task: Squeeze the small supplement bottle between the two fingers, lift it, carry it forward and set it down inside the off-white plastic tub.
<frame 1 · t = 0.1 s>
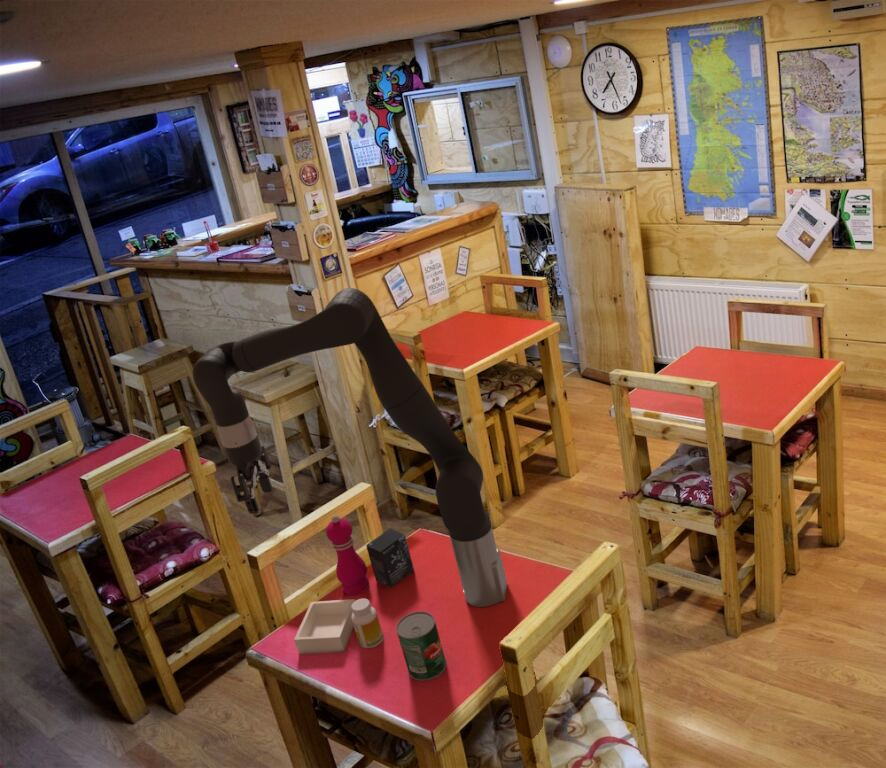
hand: (261, 501, 195), 29 cm above the table, fingers open, 8 cm apart
supplement bottle: (371, 640, 190), on the table
pepper mill: (356, 587, 209), on the table
box: (395, 576, 209), on the table
canned tomato: (427, 667, 178), on the table
tub: (329, 633, 195), on the table
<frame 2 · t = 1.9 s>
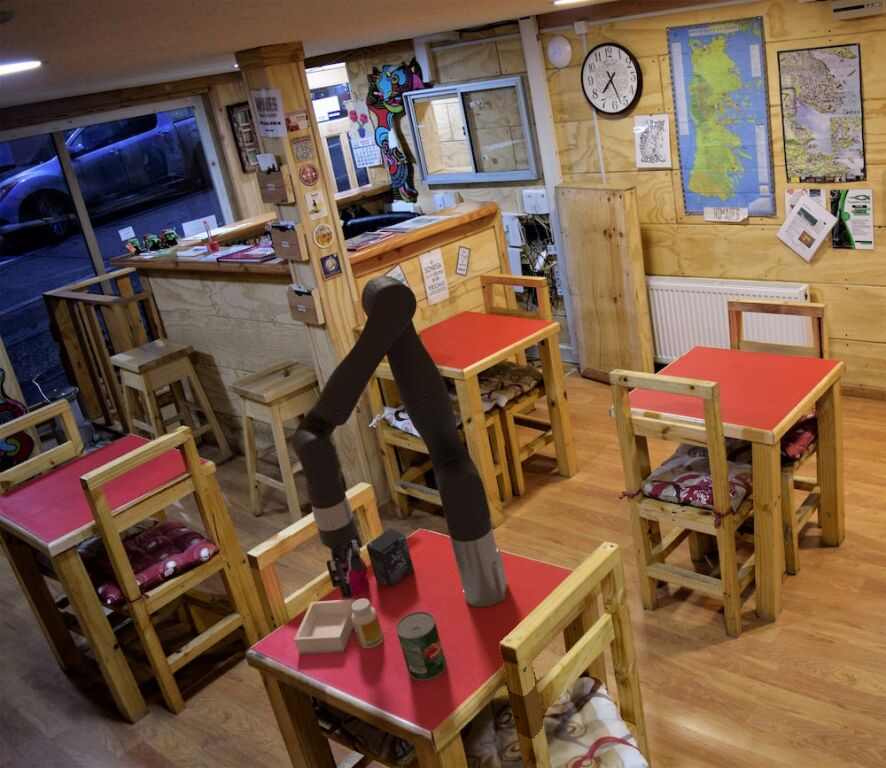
hand: (353, 583, 184), 15 cm above the table, fingers open, 8 cm apart
nothing on the table moved.
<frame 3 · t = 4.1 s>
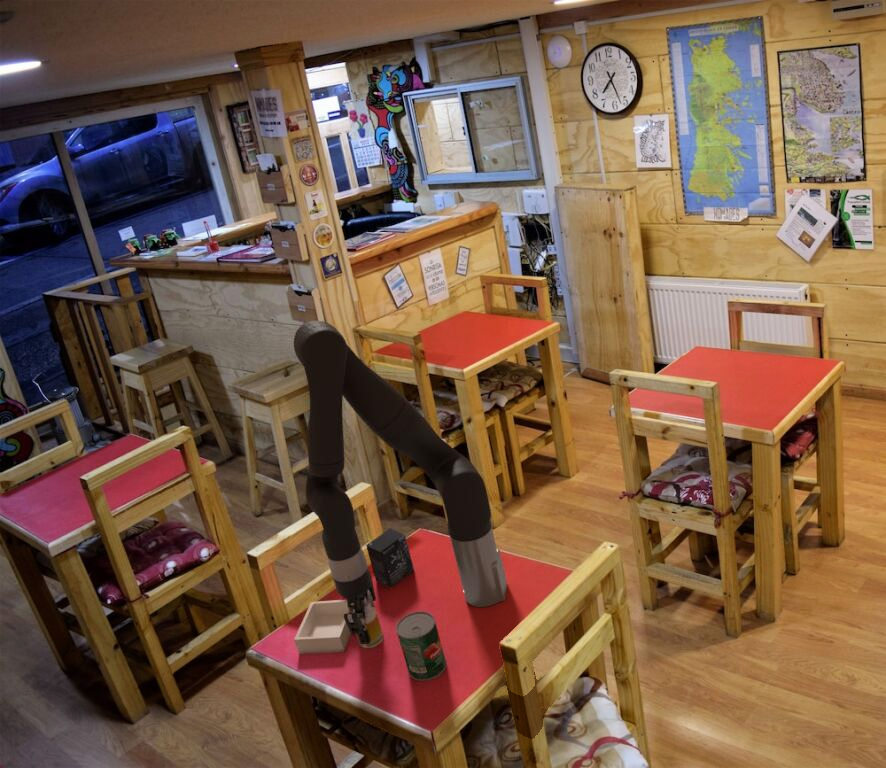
hand: (369, 632, 189), 2 cm above the table, fingers closed on supplement bottle, 5 cm apart
supplement bottle: (371, 640, 190), on the table, touching gripper
everything else where it was.
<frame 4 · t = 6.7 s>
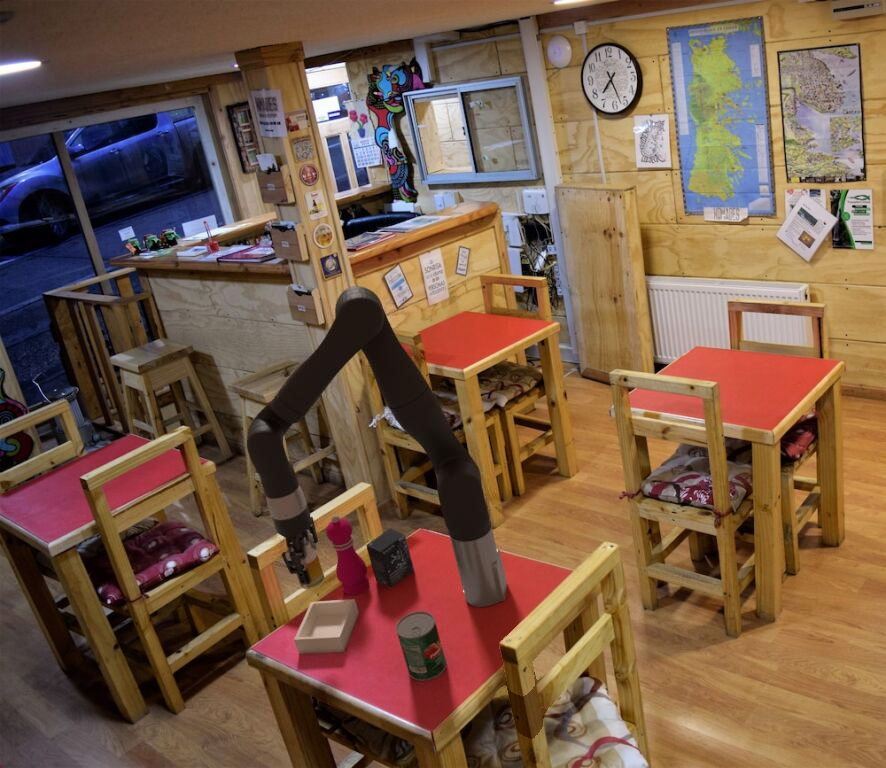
hand: (310, 574, 188), 16 cm above the table, fingers closed on supplement bottle, 5 cm apart
supplement bottle: (313, 582, 189), point 14 cm above the table, touching gripper
everything else where it was.
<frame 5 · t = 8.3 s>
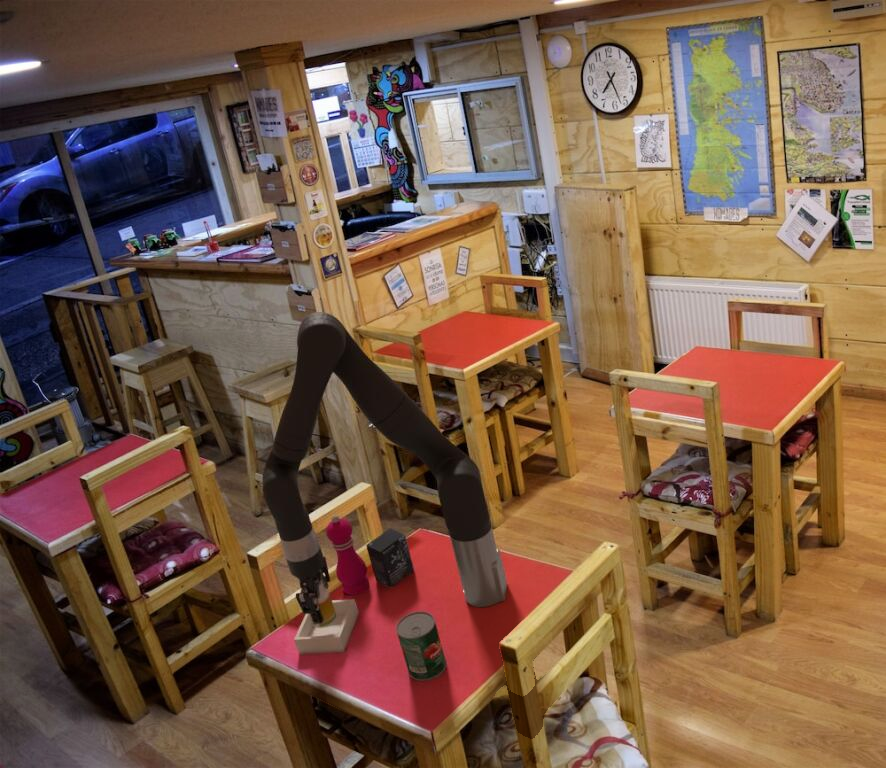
hand: (322, 613, 193), 6 cm above the table, fingers closed on supplement bottle, 5 cm apart
supplement bottle: (325, 621, 193), point 3 cm above the table, touching gripper
everything else where it was.
when the fingers open (4 cm above the table, at t = 9.6 s): supplement bottle drops 1 cm, resting on tub.
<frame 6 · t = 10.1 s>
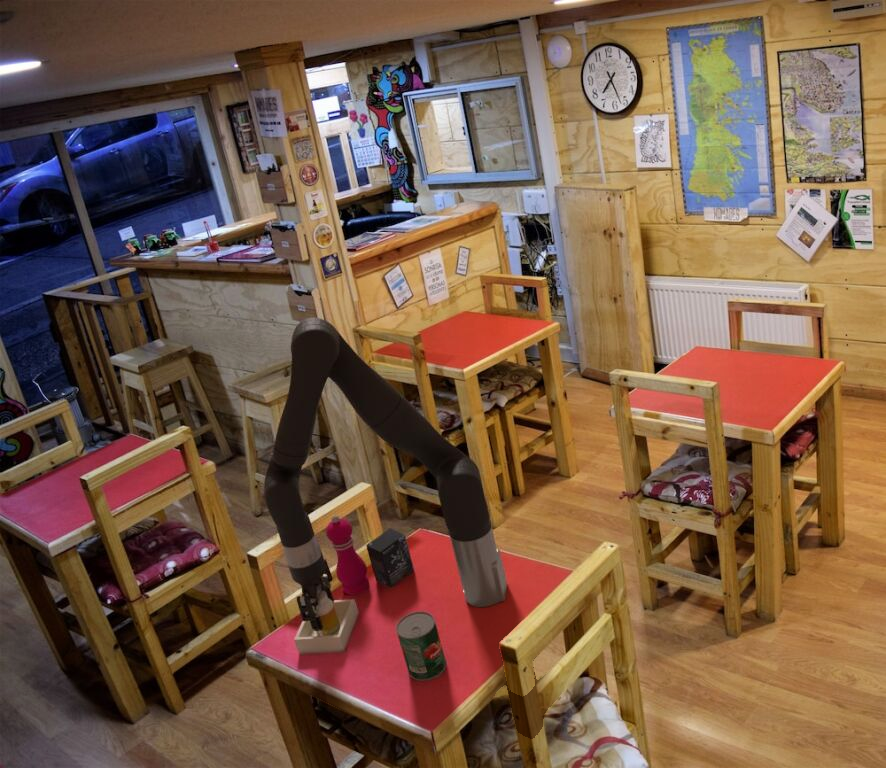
hand: (324, 616, 193), 5 cm above the table, fingers open, 8 cm apart
supplement bottle: (329, 631, 195), resting on tub
everything else where it was.
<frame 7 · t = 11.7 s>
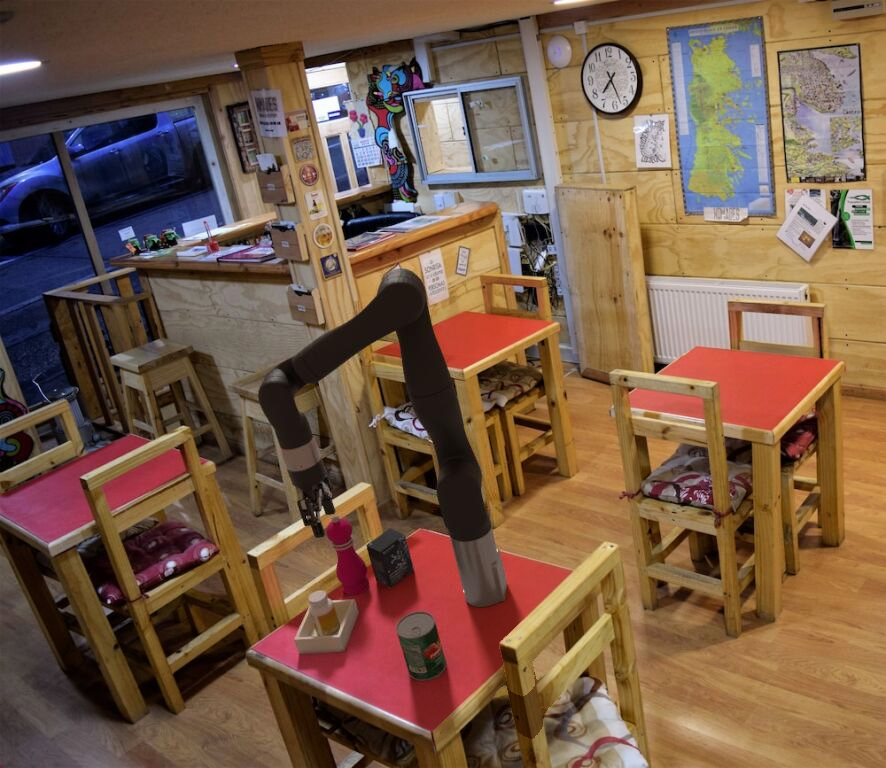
hand: (325, 524, 189), 24 cm above the table, fingers open, 8 cm apart
nothing on the table moved.
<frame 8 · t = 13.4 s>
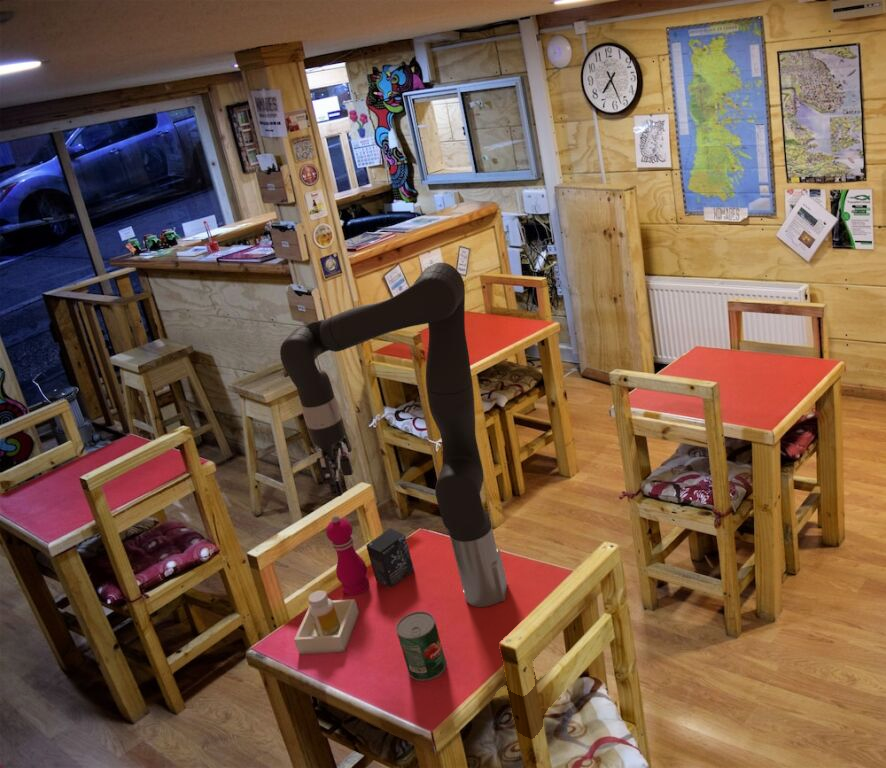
hand: (343, 484, 192), 30 cm above the table, fingers open, 8 cm apart
nothing on the table moved.
at the end: supplement bottle inside the target area on the tub (0.0 cm from its centre), point 0.4 cm above the tub's base; supplement bottle tilted 0°; the gripper is holding nothing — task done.
